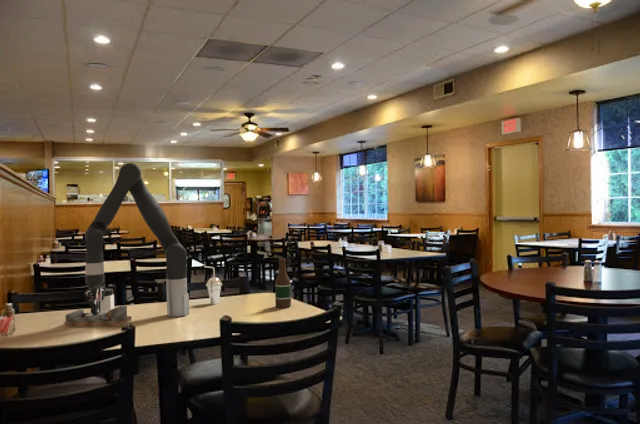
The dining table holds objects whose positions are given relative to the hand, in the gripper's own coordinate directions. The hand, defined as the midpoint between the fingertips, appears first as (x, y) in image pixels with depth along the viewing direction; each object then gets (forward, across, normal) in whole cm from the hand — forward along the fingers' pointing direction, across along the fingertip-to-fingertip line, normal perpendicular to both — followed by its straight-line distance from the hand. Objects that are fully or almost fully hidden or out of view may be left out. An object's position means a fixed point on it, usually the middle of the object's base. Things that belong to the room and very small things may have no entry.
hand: (95, 311), depth 214 cm
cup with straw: (+5, +44, -39) cm, 59 cm away
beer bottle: (+5, +36, -77) cm, 85 cm away
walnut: (+3, 0, -7) cm, 8 cm away
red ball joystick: (+3, 0, 0) cm, 3 cm away
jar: (+5, +17, +6) cm, 19 cm away
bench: (+5, 0, -1) cm, 5 cm away
